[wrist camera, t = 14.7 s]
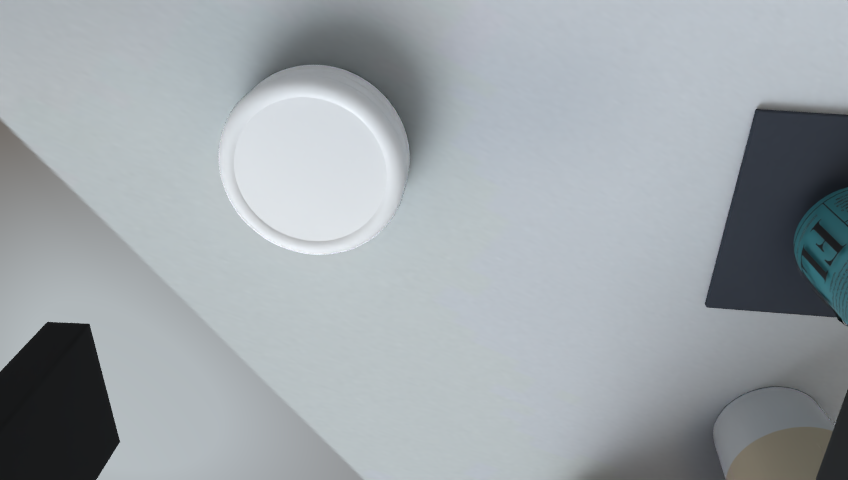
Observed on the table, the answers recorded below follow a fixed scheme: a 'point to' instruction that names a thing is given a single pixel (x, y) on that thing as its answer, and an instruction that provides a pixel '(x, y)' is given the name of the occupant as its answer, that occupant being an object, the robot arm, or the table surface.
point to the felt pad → (778, 211)
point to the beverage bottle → (826, 250)
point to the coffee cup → (772, 436)
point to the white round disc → (315, 159)
